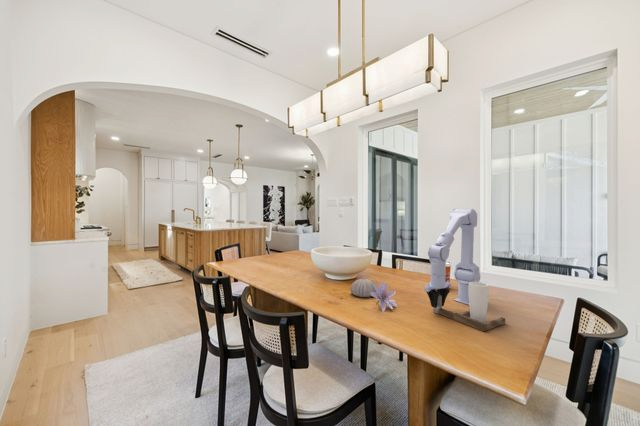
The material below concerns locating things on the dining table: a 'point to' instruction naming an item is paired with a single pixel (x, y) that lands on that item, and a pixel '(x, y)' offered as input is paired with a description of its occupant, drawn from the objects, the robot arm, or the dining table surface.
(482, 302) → the drinking glass
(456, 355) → the dining table surface
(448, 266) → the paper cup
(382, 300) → the water lily
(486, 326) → the sliding frame
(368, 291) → the sea urchin shell
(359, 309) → the dining table surface
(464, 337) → the dining table surface
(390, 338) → the dining table surface
